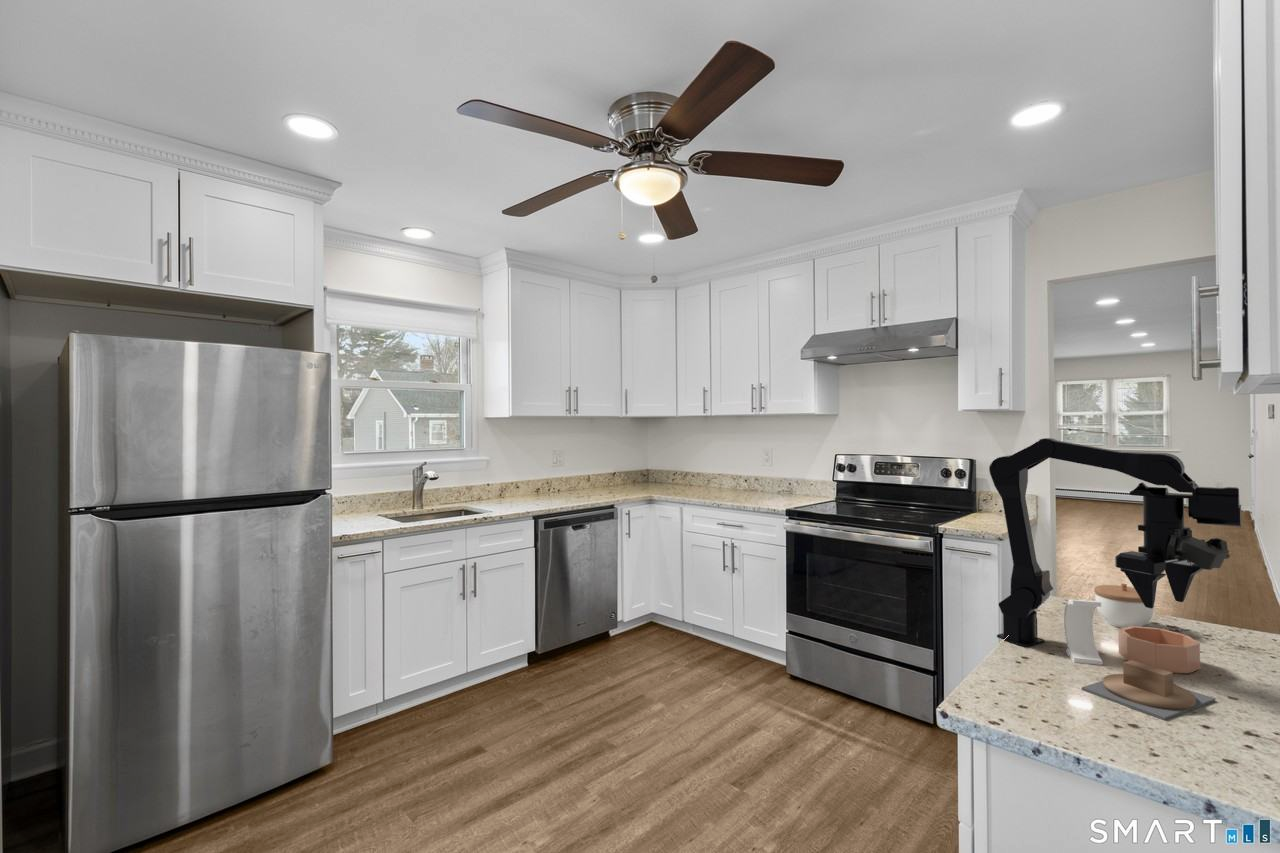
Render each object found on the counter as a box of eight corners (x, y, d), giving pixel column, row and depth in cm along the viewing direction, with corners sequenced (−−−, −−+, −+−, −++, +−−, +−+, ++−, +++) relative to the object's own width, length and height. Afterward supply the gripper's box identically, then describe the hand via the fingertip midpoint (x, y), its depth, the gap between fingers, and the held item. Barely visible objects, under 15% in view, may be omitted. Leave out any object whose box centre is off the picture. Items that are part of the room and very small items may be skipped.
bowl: (1177, 678, 108) (1176, 650, 108) (1109, 657, 118) (1108, 631, 118) (1209, 667, 112) (1209, 640, 112) (1141, 647, 123) (1140, 623, 123)
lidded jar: (1084, 621, 139) (1084, 581, 139) (1111, 614, 143) (1110, 575, 143) (1139, 636, 129) (1138, 592, 129) (1165, 628, 134) (1164, 586, 134)
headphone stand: (1073, 662, 116) (1072, 600, 116) (1064, 651, 122) (1063, 592, 122) (1102, 665, 114) (1101, 602, 114) (1092, 653, 120) (1090, 594, 120)
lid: (1087, 686, 105) (1087, 661, 105) (1128, 673, 109) (1127, 649, 109) (1171, 716, 94) (1170, 688, 94) (1211, 700, 98) (1211, 674, 98)
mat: (1164, 720, 93) (1164, 717, 93) (1081, 689, 104) (1081, 687, 104) (1215, 700, 99) (1215, 698, 99) (1132, 673, 110) (1132, 671, 110)
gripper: (1186, 531, 100) (1187, 625, 100) (1248, 523, 107) (1249, 610, 107) (1112, 522, 110) (1114, 606, 110) (1174, 515, 117) (1175, 594, 117)
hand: (1164, 604), depth 111 cm, fingers open, 9 cm apart
